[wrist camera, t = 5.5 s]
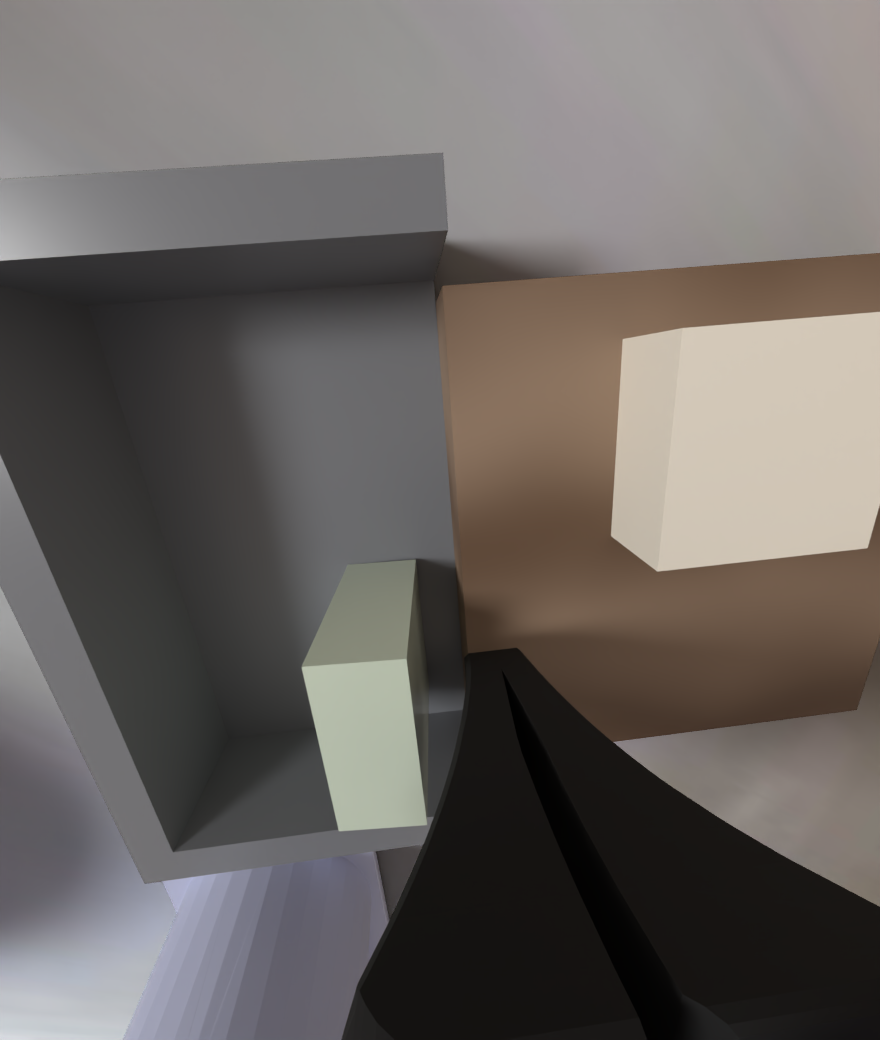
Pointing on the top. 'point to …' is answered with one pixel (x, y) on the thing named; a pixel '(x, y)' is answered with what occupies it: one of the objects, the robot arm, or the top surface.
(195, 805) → the box
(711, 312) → the walnut board
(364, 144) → the top surface
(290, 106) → the top surface
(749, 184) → the top surface
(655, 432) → the cream tile
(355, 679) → the sage tile
